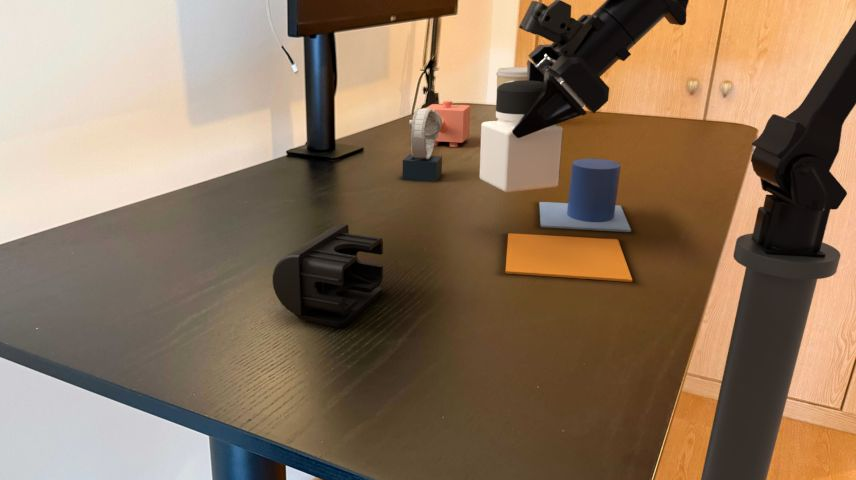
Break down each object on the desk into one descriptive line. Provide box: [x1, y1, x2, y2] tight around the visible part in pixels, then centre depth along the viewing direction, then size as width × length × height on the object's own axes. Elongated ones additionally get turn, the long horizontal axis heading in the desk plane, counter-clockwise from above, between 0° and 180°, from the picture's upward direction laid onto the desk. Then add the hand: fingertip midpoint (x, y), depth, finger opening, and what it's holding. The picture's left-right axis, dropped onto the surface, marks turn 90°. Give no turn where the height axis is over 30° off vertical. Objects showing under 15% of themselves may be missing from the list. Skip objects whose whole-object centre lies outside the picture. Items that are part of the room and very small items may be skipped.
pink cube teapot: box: [425, 100, 471, 148], centre depth 139 cm, size 8×12×8 cm, turn 161°
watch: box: [402, 107, 443, 182], centre depth 114 cm, size 6×8×11 cm
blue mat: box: [538, 201, 632, 233], centre depth 95 cm, size 11×11×1 cm
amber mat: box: [505, 232, 633, 283], centre depth 81 cm, size 13×13×1 cm
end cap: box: [272, 224, 384, 329], centre depth 69 cm, size 10×7×7 cm
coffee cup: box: [495, 66, 527, 121], centre depth 156 cm, size 9×9×12 cm
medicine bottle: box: [479, 80, 564, 193], centre depth 84 cm, size 7×7×12 cm
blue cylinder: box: [567, 158, 621, 222], centre depth 94 cm, size 6×6×7 cm
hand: (509, 128), depth 84 cm, fingers closed on medicine bottle, 8 cm apart
